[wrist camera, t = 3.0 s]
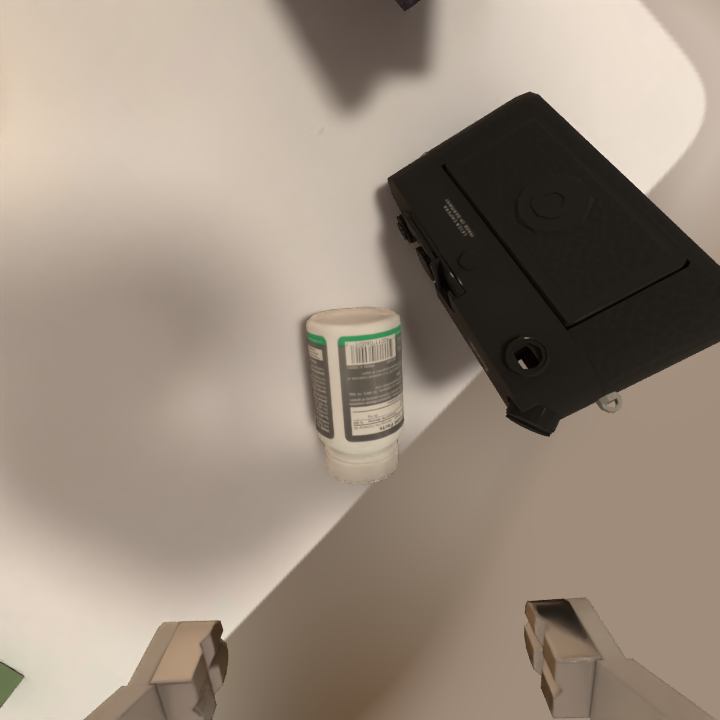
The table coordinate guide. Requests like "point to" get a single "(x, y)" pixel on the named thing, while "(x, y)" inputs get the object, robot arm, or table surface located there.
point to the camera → (554, 263)
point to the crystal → (406, 3)
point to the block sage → (8, 682)
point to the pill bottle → (357, 390)
